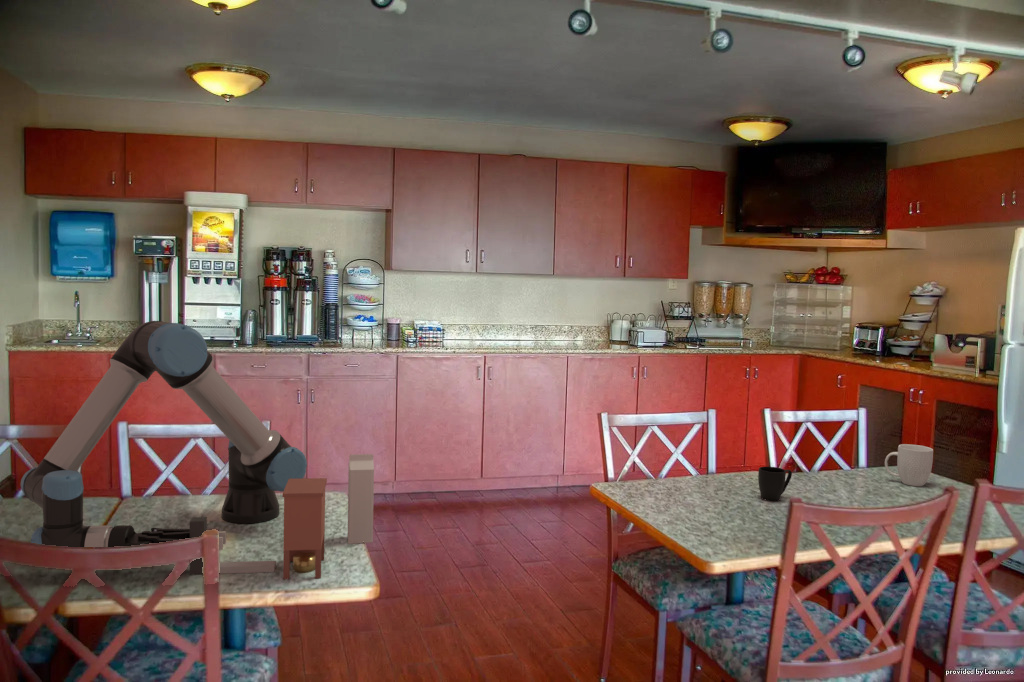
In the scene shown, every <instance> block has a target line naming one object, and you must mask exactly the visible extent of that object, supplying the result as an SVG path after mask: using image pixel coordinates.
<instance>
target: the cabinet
mask: <svg viewBox="0 0 1024 682" xmlns="http://www.w3.org/2000/svg"><path fill="white" fill-rule="evenodd" d="M327 479H328V478H327V477H323V478H318V477H315V478H314V477H313V478H306V477H305V478H301V479H289V480H288V482H287V484H286V487H285V489H284V491H283V492H282V496H281V497H282V498H283V566H282V567H283V570H282V571H283V575H282V576H283V577H282V579H283V580H289V579H290V573H291V572H290V570H291V569H290V565H291V563H290V562H293V556H294V555H296V554H299V553H313V554H315V570H314V578H315V579H321V578H322V561H325V542H326V541H325V535H326V534H325V532H326V529H325V527H326V524H325V523H326V521H325V520H326V486H327V482H328V481H327Z"/></svg>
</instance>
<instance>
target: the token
mask: <svg viewBox="0 0 1024 682" xmlns="http://www.w3.org/2000/svg"><path fill="white" fill-rule="evenodd" d="M292 567H293V568H292V570H293V572H295V573H298V574H307V573H311V572H315V554H313V553H299V554H296V555H294V556H293V561H292Z"/></svg>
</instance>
